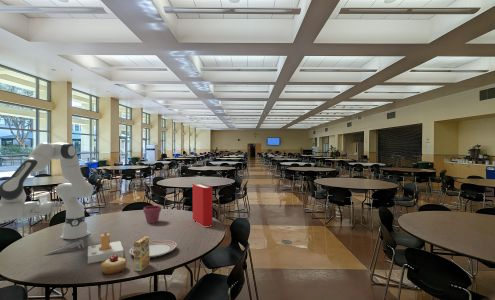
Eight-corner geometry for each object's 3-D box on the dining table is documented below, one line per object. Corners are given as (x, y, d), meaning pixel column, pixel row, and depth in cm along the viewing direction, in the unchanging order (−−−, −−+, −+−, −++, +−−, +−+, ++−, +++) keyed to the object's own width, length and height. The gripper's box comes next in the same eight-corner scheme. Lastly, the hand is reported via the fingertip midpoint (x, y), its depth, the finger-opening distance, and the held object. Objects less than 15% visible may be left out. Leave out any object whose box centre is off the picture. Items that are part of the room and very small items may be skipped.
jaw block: (100, 252, 164) (100, 231, 164) (109, 251, 167) (109, 229, 166) (101, 255, 160) (101, 233, 160) (109, 253, 163) (109, 231, 163)
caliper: (83, 248, 175) (83, 238, 175) (84, 248, 174) (84, 238, 174) (44, 255, 164) (44, 244, 164) (44, 255, 163) (44, 245, 163)
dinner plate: (119, 260, 156) (119, 254, 156) (144, 243, 183) (144, 238, 183) (165, 262, 152) (165, 256, 152) (183, 245, 180) (183, 240, 180)
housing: (88, 252, 167) (87, 245, 167) (120, 247, 176) (120, 240, 176) (87, 263, 151) (87, 255, 151) (123, 256, 160) (123, 249, 160)
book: (192, 220, 241) (192, 183, 241) (201, 218, 245) (201, 183, 245) (203, 227, 218) (203, 187, 217) (213, 226, 222) (212, 187, 221)
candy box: (141, 271, 141) (140, 242, 141) (133, 271, 141) (133, 241, 141) (149, 264, 150) (149, 236, 149) (142, 264, 150) (142, 236, 150)
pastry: (125, 264, 151) (125, 248, 151) (127, 273, 140) (127, 255, 140) (100, 268, 145) (101, 251, 145) (100, 277, 134) (101, 259, 135)
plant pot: (152, 219, 245) (152, 204, 245) (164, 220, 239) (164, 206, 239) (140, 223, 232) (139, 208, 232) (152, 225, 226) (152, 209, 226)
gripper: (27, 207, 143) (59, 204, 150) (34, 200, 161) (62, 198, 168) (28, 219, 143) (59, 215, 150) (34, 211, 161) (63, 208, 168)
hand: (61, 206), depth 159 cm, fingers open, 8 cm apart
